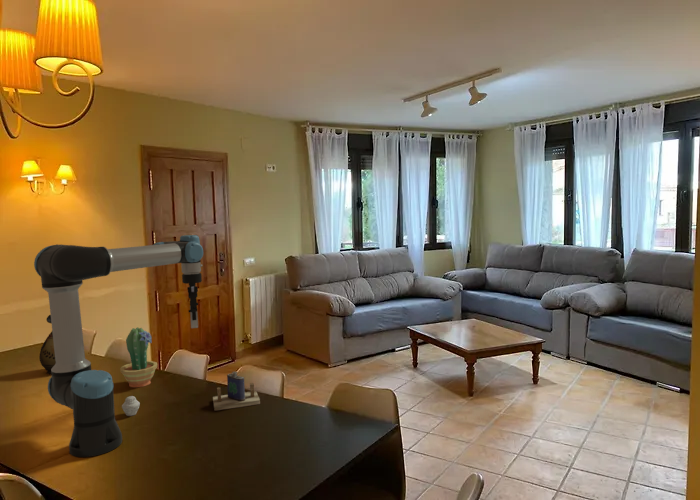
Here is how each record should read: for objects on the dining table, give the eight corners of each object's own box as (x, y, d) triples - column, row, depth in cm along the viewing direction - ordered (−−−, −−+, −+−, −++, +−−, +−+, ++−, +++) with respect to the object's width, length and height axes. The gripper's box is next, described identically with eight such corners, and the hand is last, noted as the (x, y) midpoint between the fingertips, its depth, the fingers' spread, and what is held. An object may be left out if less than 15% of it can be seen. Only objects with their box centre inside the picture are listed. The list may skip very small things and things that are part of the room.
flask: (246, 399, 190) (245, 372, 190) (240, 402, 188) (239, 374, 187) (231, 395, 196) (230, 368, 195) (225, 397, 194) (224, 370, 193)
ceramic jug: (65, 375, 232) (61, 313, 230) (33, 376, 232) (28, 313, 230) (85, 364, 249) (81, 306, 246) (55, 365, 249) (51, 307, 247)
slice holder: (260, 403, 190) (259, 387, 189) (214, 410, 184) (213, 393, 184) (256, 394, 200) (255, 378, 200) (213, 400, 195) (212, 384, 194)
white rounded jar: (133, 418, 180) (132, 399, 179) (118, 417, 181) (117, 398, 180) (143, 411, 186) (142, 393, 185) (129, 410, 187) (128, 392, 186)
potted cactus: (127, 392, 207) (123, 334, 205) (116, 383, 218) (112, 328, 216) (164, 383, 217) (160, 327, 215) (151, 375, 228) (148, 322, 226)
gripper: (202, 275, 190) (205, 329, 191) (200, 269, 214) (202, 317, 215) (181, 277, 188) (184, 331, 189) (182, 270, 211) (184, 319, 213)
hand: (194, 324), depth 202 cm, fingers open, 13 cm apart
